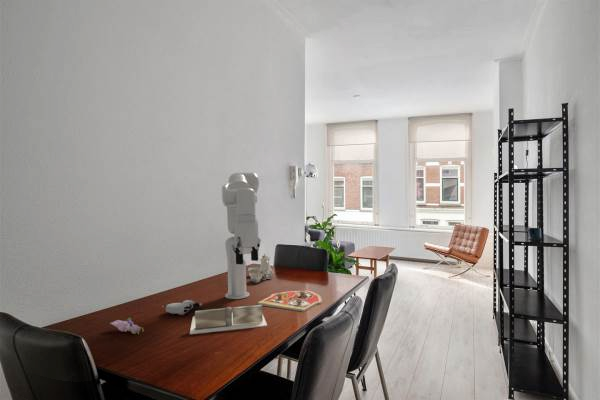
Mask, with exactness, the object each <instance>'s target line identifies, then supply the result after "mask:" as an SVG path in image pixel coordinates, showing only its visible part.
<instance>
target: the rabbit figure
mask: <svg viewBox="0 0 600 400" xmlns="http://www.w3.org/2000/svg"><path fill="white" fill-rule="evenodd" d="M109 324H110V325H112V326H114V327H116V328H117V329H118V331H120V332H123V333H125V332H127V331H128V332H131V334H134V335H135V334H140V331H141V329H142V331H141V332H144V331H145V329H144V327H142V326H139V325H138V324H134V321H132V319H131V317H130V318H127V319H126V320H120V319H117V320H114V321H112V322H110V323H109Z"/></svg>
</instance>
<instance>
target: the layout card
mask: <svg viewBox="0 0 600 400" xmlns="http://www.w3.org/2000/svg"><path fill="white" fill-rule="evenodd" d="M262 318H263V322H254V323H244V324H235V325H233V312H232V326H230V327H227V326H226V325H225V326H216V327H206V328H197V329H196V327H195V315H193V316H192V320H191V325H190V331H189V335H197V334H206V333H213V332H214V333H215V332H223V331H234V330H243V329H252V328H262V327H268V324H267V321H266V318H265V316H264V314H263V313H262Z"/></svg>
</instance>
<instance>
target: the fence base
mask: <svg viewBox="0 0 600 400" xmlns="http://www.w3.org/2000/svg"><path fill="white" fill-rule="evenodd" d="M232 313H233V307H231V306H227V307H223V308H211V309H203V310H202V309H201V310H195V312H194V316H195V327H196V329H197V328H206V327H216V326H225V325H226V326H227V327H230V326H232Z"/></svg>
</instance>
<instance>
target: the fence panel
mask: <svg viewBox="0 0 600 400" xmlns="http://www.w3.org/2000/svg"><path fill="white" fill-rule="evenodd" d="M232 313H233V325H235V324H244V323H254V322H263V318H262V314H263V306H262V305H258V304H257V305H246V306H245V305H244V306H235V307H232Z"/></svg>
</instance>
